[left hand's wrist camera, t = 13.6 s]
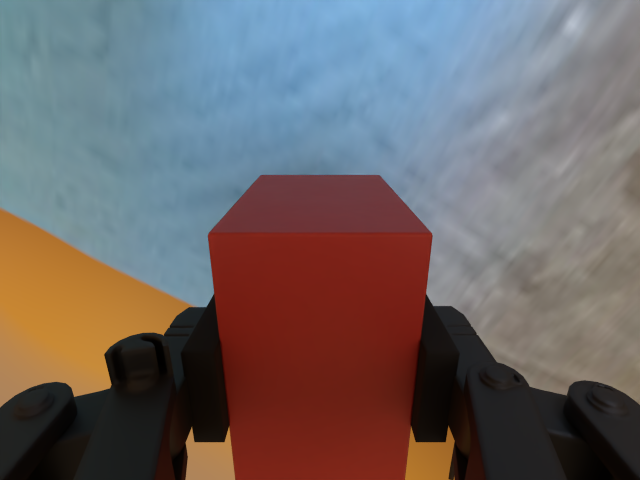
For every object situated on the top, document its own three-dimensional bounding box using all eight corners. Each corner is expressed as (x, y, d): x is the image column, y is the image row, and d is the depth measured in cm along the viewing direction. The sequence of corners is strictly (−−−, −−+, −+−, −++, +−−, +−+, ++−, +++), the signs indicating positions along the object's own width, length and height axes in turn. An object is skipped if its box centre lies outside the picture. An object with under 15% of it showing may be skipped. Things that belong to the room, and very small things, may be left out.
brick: (269, 345, 17) (236, 499, 10) (260, 174, 15) (206, 232, 8) (370, 345, 17) (403, 499, 10) (380, 174, 15) (433, 232, 8)
